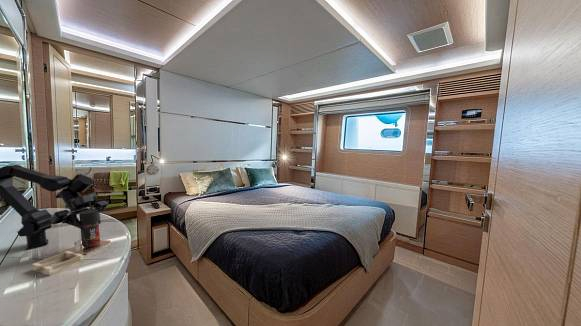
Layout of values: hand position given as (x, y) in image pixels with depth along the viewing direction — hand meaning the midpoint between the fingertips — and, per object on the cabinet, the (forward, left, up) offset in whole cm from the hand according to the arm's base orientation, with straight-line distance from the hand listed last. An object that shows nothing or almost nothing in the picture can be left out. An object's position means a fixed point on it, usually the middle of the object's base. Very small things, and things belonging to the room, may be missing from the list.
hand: (91, 226), depth 93 cm
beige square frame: (+8, -11, -10) cm, 17 cm away
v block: (-2, -2, -10) cm, 11 cm away
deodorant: (-1, -1, -9) cm, 9 cm away
